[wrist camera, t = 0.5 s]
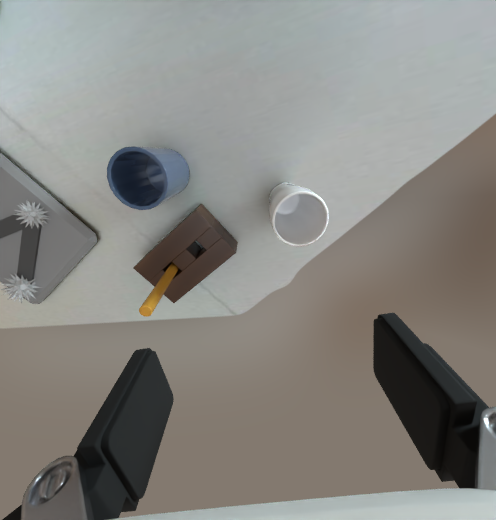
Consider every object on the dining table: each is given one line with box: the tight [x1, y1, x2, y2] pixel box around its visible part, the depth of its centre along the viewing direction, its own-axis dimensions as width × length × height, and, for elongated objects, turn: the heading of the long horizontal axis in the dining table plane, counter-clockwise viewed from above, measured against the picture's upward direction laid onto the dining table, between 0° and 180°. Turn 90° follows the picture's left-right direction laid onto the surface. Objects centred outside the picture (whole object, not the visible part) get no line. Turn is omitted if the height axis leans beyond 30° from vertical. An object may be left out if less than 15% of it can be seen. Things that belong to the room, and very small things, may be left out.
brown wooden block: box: [134, 204, 238, 303], centre depth 45 cm, size 9×15×5 cm, turn 131°
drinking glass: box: [269, 183, 329, 246], centre depth 36 cm, size 7×7×15 cm
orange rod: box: [139, 262, 179, 316], centre depth 40 cm, size 2×2×17 cm
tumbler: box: [107, 147, 189, 210], centre depth 36 cm, size 7×7×12 cm
